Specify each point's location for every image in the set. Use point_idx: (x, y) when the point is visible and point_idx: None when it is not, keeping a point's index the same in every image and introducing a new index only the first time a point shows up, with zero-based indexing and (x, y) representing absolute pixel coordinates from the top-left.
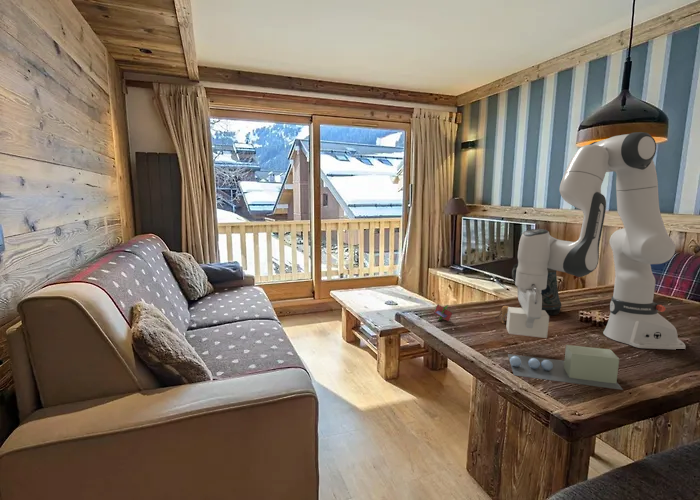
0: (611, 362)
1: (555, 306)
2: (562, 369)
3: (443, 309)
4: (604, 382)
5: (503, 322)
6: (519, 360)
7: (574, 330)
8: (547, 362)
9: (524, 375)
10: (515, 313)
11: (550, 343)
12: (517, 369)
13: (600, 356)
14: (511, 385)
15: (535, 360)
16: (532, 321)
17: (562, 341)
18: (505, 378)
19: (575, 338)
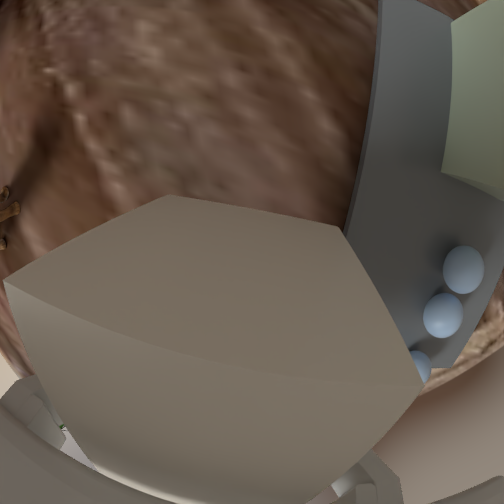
0: None
1: None
2: (454, 188)
3: (61, 425)
4: None
5: (3, 246)
6: (430, 368)
7: (27, 19)
8: (480, 282)
9: (462, 343)
10: None
11: (117, 101)
12: (427, 354)
13: None
14: (467, 368)
15: (459, 325)
16: (367, 456)
17: (96, 49)
18: (439, 377)
19: (75, 8)
